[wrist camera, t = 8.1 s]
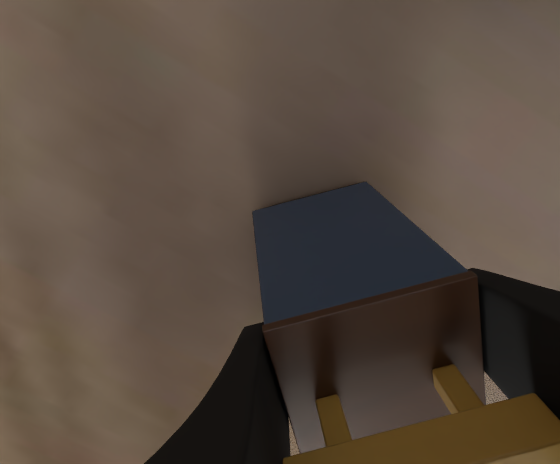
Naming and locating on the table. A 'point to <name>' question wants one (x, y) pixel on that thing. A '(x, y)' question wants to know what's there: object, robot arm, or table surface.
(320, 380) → the box
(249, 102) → the table surface
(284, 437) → the robot arm
